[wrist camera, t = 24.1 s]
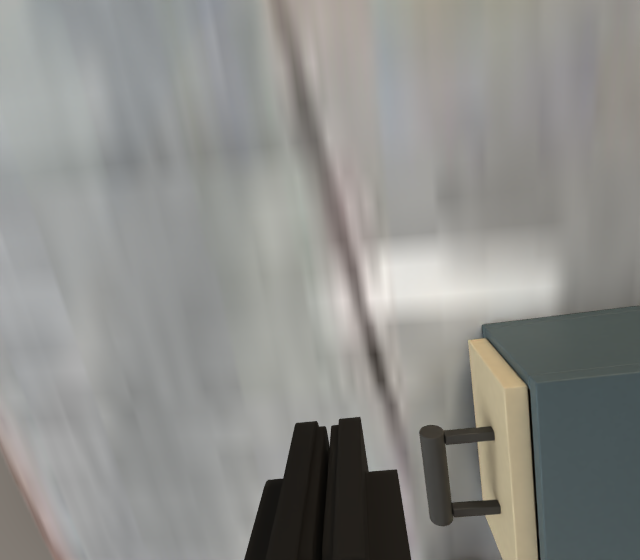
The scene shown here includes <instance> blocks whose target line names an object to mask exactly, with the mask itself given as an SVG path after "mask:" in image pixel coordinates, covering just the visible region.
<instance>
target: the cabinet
mask: <svg viewBox="0 0 640 560" xmlns="http://www.w3.org/2000/svg"><path fill="white" fill-rule="evenodd" d="M482 333H483V338H486V339H487V340H488V341H489V342H490V343H491V344H492V345H493V347H494V348H495V349H496V350H497V351H498V352H499V354H500V355H501V356H502V357H503V358H504V359H505V360H506V362H507V363H508V364H509V365H510V366H511V367H512V368H513V370H514V371H515V372H516V373H517V374H518V375H519V376H520V378H521V379H522V380H523V381H524V382H525V383H526V384H527V386H528V388H529V389H530V396H531V412H532V428H533V445H534V461H535V477H536V493H537V510H538V526H539V538H538V536H537V544H538V560H640V306H633V307H625V308H617V309H608V310H600V311H592V312H583V313H575V314H567V315H559V316H550V317H542V318H534V319H526V320H517V321H509V322H501V323H492V324H484V325H482Z"/></svg>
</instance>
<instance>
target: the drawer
mask: <svg viewBox="0 0 640 560" xmlns="http://www.w3.org/2000/svg"><path fill="white" fill-rule="evenodd" d="M468 345H469V356H470V367H471V377H472V388H473V399H474V410H475V421H476V428H466V429H455V430H445V431H443V429H442V428H441V427H439V426H436V425H427V426H424V427H422V428H421V429H420V432H419V433H420V441H421V450H422V458H423V466H424V474H425V482H426V490H427V498H428V506H429V514H430V519H431V521H432V522H433V523H434V524H436V525H438V526H447V525H449V524H450V523H451V522H452V521H453V516H454V517H466V516H481V515H485V516H486V519H487V521H488V524H489V526H490V529H491V531H492V534H493V536H494V539H495V541H496V544H497V546H498V549H499V551H500V554H501V556H502V559H503V560H538V544H537V536H538V538H539V526H538V510H537V493H536V477H535V461H534V445H533V428H532V412H531V396H530V389H529V388H528V386H527V384H526V383H525V382H524V381H523V380H522V379H521V378H520V376H519V375H518V374H517V373H516V372H515V371H514V370H513V368H512V367H511V366H510V365H509V364H508V363H507V362H506V360H505V359H504V358H503V357H502V356H501V355H500V354H499V352H498V351H497V350H496V349H495V348H494V347H493V345H492V344H491V343H490V342H489V341H488V340H487V339H486V338H482V339H474V340H469V341H468ZM472 442H477V443H478V454H479V464H480V475H481V486H482V497H483V500H482V501H468V502H454V503H452V502H451V493H450V484H449V475H448V466H447V457H446V448H445V444H446V445H449V444H460V443H472Z"/></svg>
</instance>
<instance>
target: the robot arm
mask: <svg viewBox="0 0 640 560" xmlns="http://www.w3.org/2000/svg"><path fill="white" fill-rule="evenodd" d="M244 560H411V556H410V549H409V543H408V536H407V530H406V524H405V517H404V511H403V505H402V498H401V492H400V485H399V479H398V473H397V470H385V471H372V472H369V471H368V465H367V458H366V451H365V444H364V438H363V431H362V424H361V419H360V417H355V418H344V419H339V425H333V426H331V437H330V447H329V441H328V435H327V429H326V427H325V426H322V427H319V425H318V422H317V421H313V422H303V423H296V424H295V428H294V432H293V437H292V441H291V446H290V451H289V455H288V460H287V464H286V469H285V473H284V478H283V479H274V480H268V481H267V482H266V484H265V486H264V490H263V494H262V497H261V501H260V504H259V508H258V512H257V515H256V519H255V523H254V526H253V530H252V534H251V537H250V541H249V545H248V548H247V552H246V555H245V559H244Z"/></svg>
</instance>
